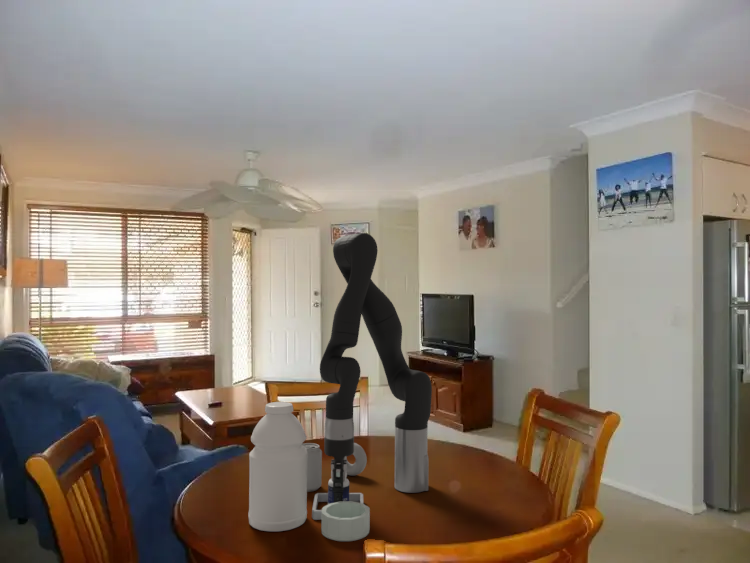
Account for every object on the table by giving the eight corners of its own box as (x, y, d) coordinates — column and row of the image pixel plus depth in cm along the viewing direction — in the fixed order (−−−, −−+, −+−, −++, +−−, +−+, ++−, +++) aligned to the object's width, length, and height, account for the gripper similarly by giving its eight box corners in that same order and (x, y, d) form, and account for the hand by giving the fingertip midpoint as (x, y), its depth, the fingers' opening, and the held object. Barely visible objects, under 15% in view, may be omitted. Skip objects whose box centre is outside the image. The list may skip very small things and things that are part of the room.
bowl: (368, 521, 137) (368, 501, 137) (370, 541, 126) (370, 519, 126) (323, 521, 137) (323, 501, 137) (320, 541, 126) (320, 519, 126)
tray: (362, 500, 151) (363, 492, 151) (363, 519, 138) (363, 511, 138) (315, 500, 151) (315, 493, 151) (311, 519, 138) (311, 511, 138)
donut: (333, 475, 172) (333, 441, 172) (338, 471, 175) (338, 439, 175) (363, 479, 168) (364, 445, 168) (368, 475, 171) (368, 442, 171)
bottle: (254, 536, 128) (256, 411, 128) (242, 514, 141) (244, 400, 141) (314, 527, 134) (315, 407, 134) (298, 506, 146) (299, 397, 147)
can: (316, 493, 156) (317, 449, 156) (290, 491, 157) (291, 447, 157) (324, 484, 163) (325, 442, 163) (299, 482, 165) (300, 441, 165)
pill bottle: (332, 515, 141) (333, 475, 141) (324, 507, 146) (325, 469, 146) (352, 511, 143) (353, 472, 143) (343, 504, 148) (344, 466, 148)
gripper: (353, 442, 138) (353, 512, 137) (354, 428, 152) (353, 491, 152) (322, 442, 138) (322, 512, 137) (325, 428, 152) (325, 492, 152)
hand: (338, 501), depth 145 cm, fingers closed on pill bottle, 5 cm apart
